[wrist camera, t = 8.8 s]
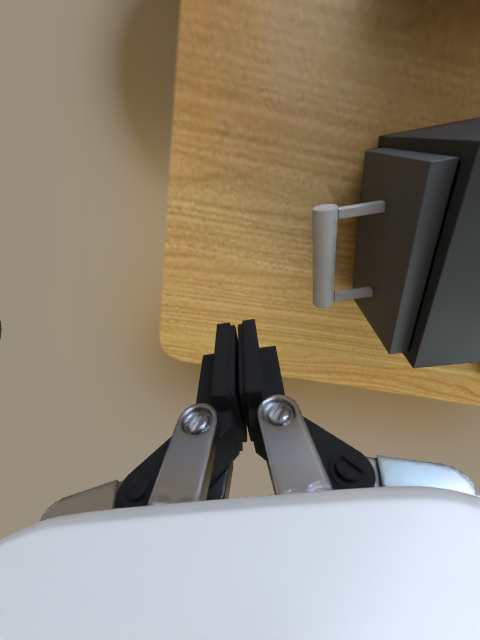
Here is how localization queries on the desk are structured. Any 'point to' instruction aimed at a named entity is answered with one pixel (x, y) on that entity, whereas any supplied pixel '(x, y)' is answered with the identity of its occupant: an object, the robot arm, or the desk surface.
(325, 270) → the drawer
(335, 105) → the desk surface
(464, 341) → the dark grey cabinet
